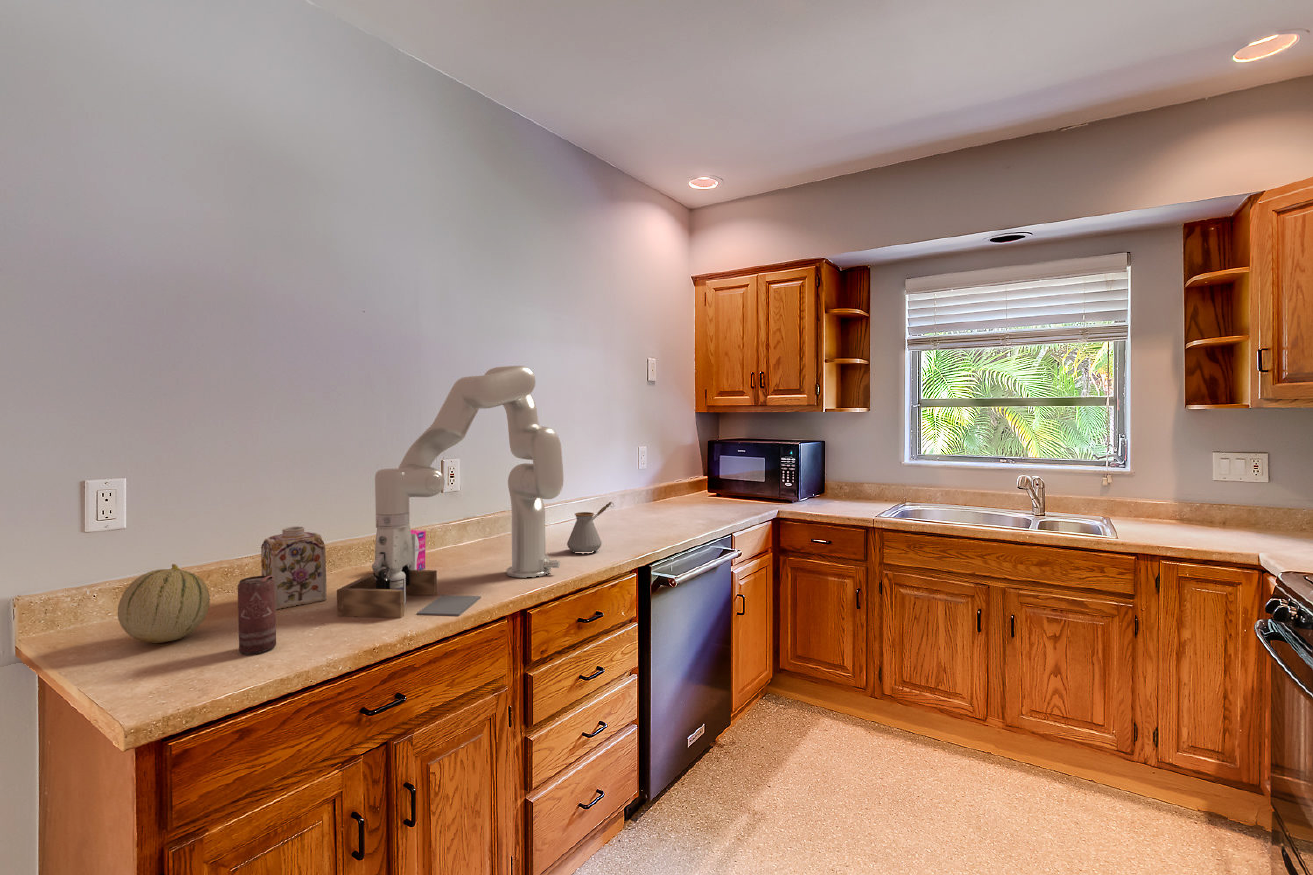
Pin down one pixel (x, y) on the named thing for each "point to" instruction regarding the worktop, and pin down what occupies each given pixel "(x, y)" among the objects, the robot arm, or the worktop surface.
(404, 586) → the pill bottle
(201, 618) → the cantaloupe
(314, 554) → the decorative jar
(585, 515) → the coffee pot
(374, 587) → the open box
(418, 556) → the supplement box
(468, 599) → the mat
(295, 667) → the worktop surface
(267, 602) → the can
